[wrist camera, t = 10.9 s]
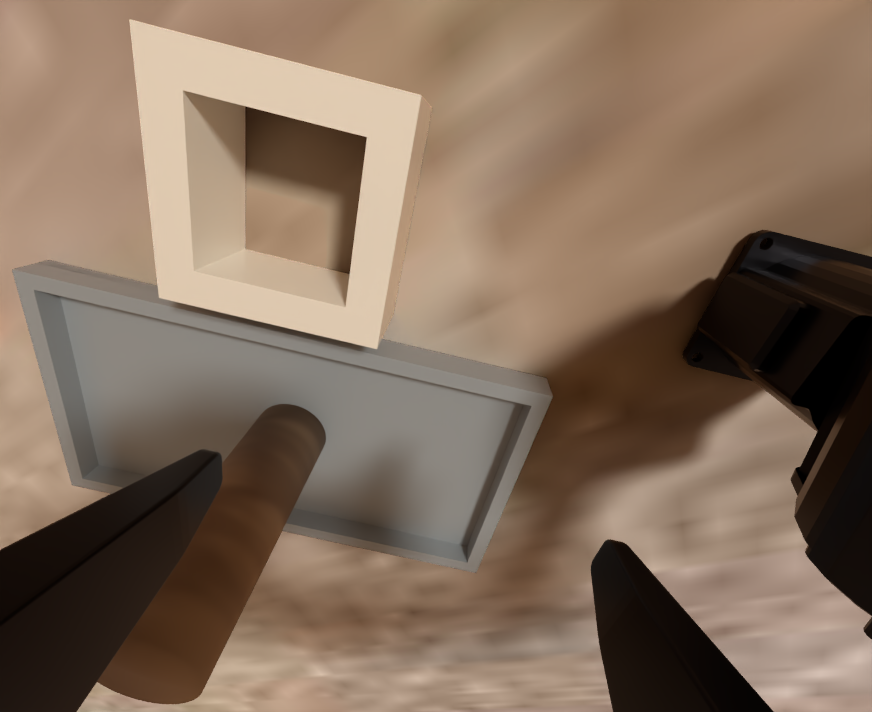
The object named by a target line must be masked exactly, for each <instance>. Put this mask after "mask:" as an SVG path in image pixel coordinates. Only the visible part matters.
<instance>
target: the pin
mask: <svg viewBox="0 0 872 712" xmlns="http://www.w3.org/2000/svg"><path fill="white" fill-rule="evenodd" d="M325 442H326V433H325V430H324V427H323V425H322V424H321V422H320V421H319V420H318V418H317V417H316V416H315V415H313V414H312V413H311V412H309V411H308V410H306V409H304V408H302V407H299V406H296V405H291V404H278V405H274V406H271V407H269V408H267V409H266V410H265V411H264V412H263V413H262V414H261V415H260V416H259V418H258V419H257V420H256V421H255V423H254V424H253V425H252V426H251V428H250V429H249V430H248V432H247V433H246V434H245V435H244V437H243V438H242V439H241V440H240V442H239V443H238V444H237V445H236V447H235V448H234V449H233V450H232V452H231V453H230V454H229V455H228V457H227V458H226V459H225V460H224V462H223V463H222V473H223V480H222V484H221V487H220V489H219V491H218V493H217V495H216V497H215V498H214V500H213V502H212V504H211V506H210V508H209V509H208V511H207V513H206V515H205V517H204V519H203V520H202V522H201V524H200V526H199V528H198V530H197V531H196V533H195V535H194V537H193V539H192V541H191V542H190V544H189V546H188V548H187V549H186V551H185V553H184V555H183V556H182V558H181V559H180V561H179V562H178V564H177V565H176V567H175V568H174V570H173V571H172V573H171V574H170V576H169V577H168V578H167V580H166V581H165V583H164V584H163V586H162V587H161V589H160V590H159V592H158V593H157V595H156V596H155V598H154V599H153V600H152V602H151V603H150V605H149V606H148V608H147V609H146V611H145V612H144V614H143V615H142V617H141V618H140V619H139V621H138V622H137V624H136V625H135V627H134V628H133V630H132V631H131V633H130V634H129V636H128V637H127V639H126V640H125V641H124V643H123V644H122V646H121V647H120V649H119V650H118V652H117V653H116V655H115V656H114V658H113V659H112V660H111V662H110V663H109V665H108V666H107V668H106V669H105V671H104V672H103V674H102V675H101V677H100V678H99V680H98V681H97V682H98V683H100V684H101V685H103V686H105V687H107V688H109V689H111V690H113V691H115V692H117V693H120V694H122V695H125V696H128V697H131V698H134V699H138V700H142V701H146V702H152V703H159V704H180V703H186V702H189V701H192V700H194V699H196V698H197V697H198V696H200V694H201V693H202V691H203V689H204V687H205V685H206V683H207V681H208V679H209V677H210V675H211V673H212V671H213V669H214V667H215V665H216V663H217V661H218V659H219V657H220V655H221V653H222V651H223V649H224V647H225V645H226V643H227V641H228V639H229V637H230V635H231V633H232V631H233V629H234V627H235V625H236V623H237V621H238V619H239V617H240V615H241V613H242V611H243V609H244V607H245V605H246V603H247V601H248V599H249V597H250V595H251V593H252V591H253V588H254V586H255V584H256V582H257V580H258V578H259V576H260V574H261V572H262V570H263V568H264V566H265V564H266V562H267V560H268V558H269V556H270V554H271V552H272V550H273V548H274V546H275V544H276V542H277V540H278V538H279V536H280V534H281V532H282V530H283V528H284V526H285V524H286V522H287V520H288V518H289V516H290V514H291V512H292V510H293V508H294V506H295V504H296V502H297V500H298V498H299V496H300V494H301V492H302V490H303V488H304V486H305V484H306V482H307V480H308V478H309V476H310V474H311V472H312V470H313V468H314V466H315V464H316V462H317V460H318V458H319V456H320V454H321V451H322V449H323V447H324V445H325Z"/></svg>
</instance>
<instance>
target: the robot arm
mask: <svg viewBox="0 0 872 712" xmlns="http://www.w3.org/2000/svg"><path fill="white" fill-rule="evenodd" d="M765 238H766V239H767V242H766V244H765V245H764V246H763V247H761V248H760V246H759V245H760V242H761V241H762V240H763V239H765ZM696 353H699V355H698V356H697V357H695V358H692V356H693V355H694V354H696ZM683 359H684V360H685V361H686V362H687V363H688V364H689V365H691V366H693V367H697V368H702V369H706V370H710V371H714V372H718V373H722V374H727V375H731V376H735V377H739V378H743V379H747V380H751V381H755V382H756V383H757V384H758V385H760V386H761V387H762V388H763V389H764V390H766V391H767V392H768V393H769V394H771V395H772V396H773V397H774V398H776V399H777V400H778V401H779V402H781V403H782V404H783V405H784V406H786V407H787V408H788V409H789V410H791V411H792V412H793V413H794V414H796V415H797V416H798V417H799V418H801V419H802V420H803V421H804V422H806V423H807V424H808V425H809V426H811V427H812V428H813V429H814V430H816V431H817V434H816V436H815V438H814V440H813V442H812V444H811V446H810V448H809V450H808V452H807V455H806V457H805V459H804V461H803V463H802V465H801V467H797V468H796V469H795V471H794V473H793V475H792V477H791V482H792V484H793V487H794V489H795V491H796V493H797V495H798V497H797V499H796V507H795V516H794V517H795V519H796V521H797V524H798V526H799V528H800V530H801V533H802V535H803V537H804V539H805V541H806V543H807V544H808V546H807V548H806V551H805V553H806V555H807V557H808V558H809V559H810V560H811V561H812V563H813V564H814V565H815V566H816V567H817V568H818V569H819V571H820V572H821V573H822V574H823V575H824V576H825V577H826V578H827V579H828V580H829V581H830V582H831V583H832V584H833V585H834V586H835V587H836V588H837V589H838V590H840V591H841V592H842V593H843V594H844V595H845V596H846V597H848V598H849V599H850V600H851V601H852V602H853V603H855V604H856V605H857V606H858V607H860V608H861V609H862V610H864V611H865V612H867V613H868V614H869V615H871V616H872V257H870V256H866V255H862V254H858V253H854V252H850V251H847V250H843V249H839V248H835V247H831V246H827V245H823V244H819V243H815V242H811V241H807V240H803V239H800V238H796V237H792V236H788V235H784V234H780V233H776V232H772V231H768V230H761V231H758V232H756V233H755V234H753V235H752V236H751V237H750V239H749V240H748V242H747V244H746V245H745V247H744V249H743V250H742V252H741V254H740V256H739V257H738V259H737V261H736V262H735V264H734V266H733V268H732V269H731V271H730V273H729V274H728V275H727V276H726V277H725V278H724V280H723V282H722V284H721V285H720V287H719V289H718V291H717V292H716V294H715V296H714V297H713V299H712V301H711V303H710V304H709V306H708V308H707V309H706V311H705V313H704V315H703V316H702V318H701V320H700V322H699V323H698V328H697V329H696V331H695V333H694V334H693V336H692V338H691V340H690V341H689V343H688V345H687V346H686V348H685V350H684V352H683ZM222 480H223V473H222V455H221V454H220V453H219V452H216V451H212V450H207V449H200V450H198V451H196V452H194V453H192V454H190V455H188V456H186V457H184V458H182V459H180V460H178V461H176V462H174V463H172V464H170V465H168V466H166V467H164V468H162V469H160V470H158V471H156V472H154V473H152V474H150V475H148V476H146V477H144V478H142V479H140V480H138V481H136V482H134V483H132V484H130V485H128V486H126V487H124V488H122V489H120V490H118V491H116V492H114V493H112V494H110V495H108V496H106V497H104V498H102V499H100V500H98V501H96V502H94V503H92V504H90V505H88V506H86V507H84V508H82V509H80V510H78V511H76V512H74V513H72V514H70V515H68V516H66V517H64V518H62V519H60V520H58V521H56V522H54V523H52V524H50V525H48V526H46V527H44V528H42V529H41V530H39V531H37V532H35V533H33V534H31V535H29V536H27V537H25V538H23V539H21V540H19V541H17V542H15V543H13V544H11V545H9V546H7V547H5V548H3V549H1V550H0V712H77V710H78V709H79V707H80V706H81V704H82V703H83V701H84V700H85V699H86V697H87V696H88V694H89V693H90V691H91V690H92V688H93V687H94V685H95V684H96V682H97V681H98V680H99V678H100V677H101V675H102V674H103V672H104V671H105V669H106V668H107V666H108V665H109V663H110V662H111V660H112V659H113V658H114V656H115V655H116V653H117V652H118V650H119V649H120V647H121V646H122V644H123V643H124V641H125V640H126V639H127V637H128V636H129V634H130V633H131V631H132V630H133V628H134V627H135V625H136V624H137V622H138V621H139V619H140V618H141V617H142V615H143V614H144V612H145V611H146V609H147V608H148V606H149V605H150V603H151V602H152V600H153V599H154V598H155V596H156V595H157V593H158V592H159V590H160V589H161V587H162V586H163V584H164V583H165V581H166V580H167V578H168V577H169V576H170V574H171V573H172V571H173V570H174V568H175V567H176V565H177V564H178V562H179V561H180V559H181V558H182V556H183V555H184V553H185V551H186V549H187V548H188V546H189V544H190V542H191V541H192V539H193V537H194V535H195V533H196V531H197V530H198V528H199V526H200V524H201V522H202V520H203V519H204V517H205V515H206V513H207V511H208V509H209V508H210V506H211V504H212V502H213V500H214V498H215V497H216V495H217V493H218V491H219V489H220V487H221V484H222ZM591 576H592V585H593V594H594V604H595V613H596V622H597V631H598V638H599V645H600V650H601V655H602V660H603V665H604V670H605V675H606V679H607V684H608V689H609V694H610V699H611V704H612V708H613V712H773V711H772V709H771V708H770V707H769V706H768V705H767V704H766V703H765V701H764V700H763V699H762V698H761V697H760V696H759V695H758V693H757V692H756V691H755V690H754V689H753V688H752V687H751V685H750V684H749V683H748V682H747V681H746V680H745V679H744V677H743V676H742V675H741V674H740V673H739V672H738V671H737V669H736V668H735V667H734V666H733V665H732V664H731V663H730V661H729V660H728V659H727V658H726V657H725V656H724V655H723V653H722V652H721V651H720V650H719V649H718V648H717V647H716V645H715V644H714V643H713V642H712V641H711V640H710V639H709V637H708V636H707V635H706V634H705V633H704V632H703V631H702V630H701V628H700V627H699V626H698V625H697V624H696V623H695V622H694V620H693V619H692V618H691V617H690V616H689V615H688V614H687V612H686V611H685V610H684V609H683V608H682V607H681V606H680V604H679V603H678V602H677V601H676V600H675V599H674V598H673V596H672V595H671V594H670V593H669V592H668V591H667V590H666V588H665V587H664V586H663V585H662V584H661V583H660V582H659V580H658V579H657V578H656V577H655V576H654V575H653V574H652V572H651V571H650V570H649V569H648V568H647V567H646V566H645V564H644V563H643V562H642V561H641V560H640V559H639V558H638V556H637V555H636V554H635V553H634V552H633V551H632V550H631V549H630V547H629V546H628V545H627V544H625V543H623V542H619V541H615V540H606V541H605V542H604V543H603V545H602V546H601V548H600V550H599V551H598V553H597V554H596V556H595V557H594V559H593V561H592V564H591ZM863 629H864V632H865V633H866V635H867V636H868V637H869V638H871V639H872V617H871V619H870V620H869V621H868V623H867V624H866V625H865V627H864V628H863Z"/></svg>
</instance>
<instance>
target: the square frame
mask: <svg viewBox="0 0 872 712" xmlns="http://www.w3.org/2000/svg"><path fill="white" fill-rule="evenodd" d="M129 21H130V31H131V40H132V49H133V59H134V68H135V78H136V87H137V96H138V106H139V115H140V125H141V134H142V143H143V153H144V162H145V172H146V181H147V190H148V200H149V209H150V219H151V228H152V237H153V247H154V256H155V266H156V275H157V284H158V294H159V298H162V299H166V300H170V301H174V302H179V303H183V304H187V305H191V306H196V307H200V308H204V309H208V310H213V311H217V312H221V313H225V314H230V315H234V316H238V317H242V318H247V319H251V320H255V321H259V322H264V323H268V324H272V325H276V326H281V327H285V328H289V329H293V330H297V331H302V332H306V333H310V334H314V335H319V336H323V337H327V338H331V339H336V340H340V341H344V342H348V343H353V344H357V345H361V346H365V347H370V348H374V349H377V348H378V346H379V344H380V342H381V340H382V338H383V336H384V333H385V331H386V329H387V327H388V325H389V323H390V321H391V319H392V317H393V314H394V309H395V304H396V299H397V293H398V288H399V283H400V277H401V272H402V267H403V261H404V256H405V251H406V246H407V240H408V235H409V230H410V224H411V219H412V214H413V208H414V203H415V198H416V192H417V187H418V182H419V176H420V171H421V166H422V161H423V155H424V150H425V145H426V139H427V134H428V129H429V123H430V118H431V113H432V107H431V106H430V105H429V104H428V102H427V101H426V100H425V99H424V97H423V96H422V95H419V94H415V93H411V92H408V91H404V90H400V89H396V88H392V87H388V86H384V85H381V84H377V83H373V82H369V81H365V80H361V79H357V78H354V77H350V76H346V75H342V74H338V73H334V72H331V71H327V70H323V69H319V68H315V67H311V66H307V65H304V64H300V63H296V62H292V61H288V60H284V59H280V58H277V57H273V56H269V55H265V54H261V53H257V52H254V51H250V50H246V49H242V48H238V47H234V46H230V45H227V44H223V43H219V42H215V41H211V40H207V39H203V38H200V37H196V36H192V35H188V34H184V33H180V32H176V31H173V30H169V29H165V28H161V27H157V26H153V25H150V24H146V23H142V22H138V21H134V20H130V19H129ZM245 106H246V107H250V108H254V109H258V110H262V111H266V112H270V113H274V114H278V115H282V116H286V117H289V118H293V119H297V120H301V121H305V122H309V123H313V124H317V125H321V126H325V127H329V128H333V129H337V130H341V131H344V132H348V133H352V134H356V135H360V136H364V137H367V141H366V149H365V157H364V165H363V173H362V181H361V189H360V197H359V204H358V212H357V220H356V228H355V236H354V244H353V252H352V260H351V268H350V274H347V273H343V272H339V271H335V270H330V269H326V268H322V267H318V266H314V265H310V264H306V263H301V262H297V261H293V260H289V259H285V258H281V257H277V256H273V255H268V254H264V253H260V252H256V251H252V250H248V249H245Z"/></svg>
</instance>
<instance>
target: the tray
mask: <svg viewBox="0 0 872 712" xmlns="http://www.w3.org/2000/svg"><path fill="white" fill-rule="evenodd" d="M12 272H13V275H14V279H15V282H16V286H17V290H18V293H19V297H20V300H21V304H22V307H23V311H24V315H25V318H26V322H27V325H28V329H29V333H30V336H31V340H32V343H33V347H34V350H35V354H36V358H37V361H38V365H39V368H40V372H41V376H42V379H43V383H44V386H45V390H46V394H47V397H48V401H49V404H50V408H51V411H52V415H53V419H54V422H55V426H56V429H57V433H58V437H59V440H60V444H61V447H62V451H63V454H64V458H65V462H66V465H67V469H68V472H69V476H70V480H71V483H72V485H74V486H78V487H83V488H87V489H92V490H96V491H101V492H106V493H110V494H112V493H114V492H116V491H118V490H120V489H122V488H124V487H126V486H128V485H130V484H132V483H134V482H136V481H138V480H140V479H142V478H144V477H146V476H148V475H150V474H152V473H154V472H156V471H158V470H160V469H162V468H164V467H166V466H168V465H170V464H172V463H174V462H176V461H178V460H180V459H182V458H184V457H186V456H188V455H190V454H192V453H194V452H196V451H198V450H200V449H207V450H212V451H216V452H219V453H220V454H221V455H222V463H223V462H224V460H225V459H226V458H227V457H228V455H229V454H230V453H231V452H232V450H233V449H234V448H235V447H236V445H237V444H238V443H239V442H240V440H241V439H242V438H243V437H244V435H245V434H246V433H247V432H248V430H249V429H250V428H251V426H252V425H253V424H254V423H255V421H256V420H257V419H258V418H259V416H260V415H261V414H262V413H263V412H264V411H265V410H266V409H267V408H269V407H271V406H274V405H278V404H291V405H296V406H299V407H302V408H304V409H306V410H308V411H309V412H311V413H312V414H313V415H315V416H316V417H317V418H318V420H319V421H320V422H321V424H322V425H323V427H324V430H325V433H326V442H325V445H324V447H323V449H322V451H321V454H320V456H319V458H318V460H317V462H316V464H315V466H314V468H313V470H312V472H311V474H310V476H309V478H308V480H307V482H306V484H305V486H304V488H303V490H302V492H301V494H300V496H299V498H298V500H297V502H296V504H295V506H294V508H293V510H292V512H291V514H290V516H289V518H288V520H287V522H286V524H285V526H284V528H283V530H282V531H285V532H290V533H294V534H299V535H303V536H308V537H313V538H317V539H322V540H326V541H331V542H336V543H340V544H345V545H349V546H354V547H358V548H363V549H368V550H372V551H377V552H381V553H386V554H391V555H395V556H400V557H404V558H409V559H414V560H418V561H423V562H427V563H432V564H437V565H441V566H446V567H450V568H455V569H460V570H464V571H469V572H473V573H476V572H477V570H478V568H479V565H480V563H481V561H482V558H483V556H484V554H485V552H486V549H487V547H488V545H489V542H490V540H491V538H492V536H493V533H494V531H495V529H496V526H497V524H498V522H499V519H500V517H501V515H502V513H503V510H504V508H505V506H506V503H507V501H508V499H509V496H510V494H511V492H512V490H513V487H514V485H515V483H516V480H517V478H518V476H519V474H520V471H521V469H522V467H523V464H524V462H525V460H526V457H527V455H528V453H529V451H530V448H531V446H532V444H533V441H534V439H535V437H536V434H537V432H538V430H539V428H540V425H541V423H542V421H543V418H544V416H545V414H546V412H547V409H548V407H549V405H550V402H551V400H552V398H553V395H552V392H551V389H550V387H549V384H548V381H547V378H544V377H540V376H536V375H532V374H527V373H523V372H519V371H515V370H511V369H506V368H502V367H498V366H494V365H489V364H485V363H481V362H477V361H473V360H468V359H464V358H460V357H456V356H451V355H447V354H443V353H439V352H435V351H430V350H426V349H422V348H418V347H413V346H409V345H405V344H401V343H397V342H392V341H388V340H384V339H382V340H381V342H380V344H379V346H378V348H377V349H374V348H370V347H365V346H361V345H357V344H353V343H348V342H344V341H340V340H336V339H331V338H327V337H323V336H319V335H314V334H310V333H306V332H302V331H297V330H293V329H289V328H285V327H281V326H276V325H272V324H268V323H264V322H259V321H255V320H251V319H247V318H242V317H238V316H234V315H230V314H225V313H221V312H217V311H213V310H208V309H204V308H200V307H196V306H191V305H187V304H183V303H179V302H174V301H170V300H166V299H162V298H159V294H158V286H156V285H152V284H147V283H143V282H139V281H135V280H130V279H126V278H122V277H118V276H114V275H109V274H105V273H101V272H97V271H92V270H88V269H84V268H80V267H76V266H71V265H67V264H63V263H59V262H54V261H50V260H47V261H43V262H39V263H35V264H31V265H27V266H23V267H19V268H15V269H12Z"/></svg>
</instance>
